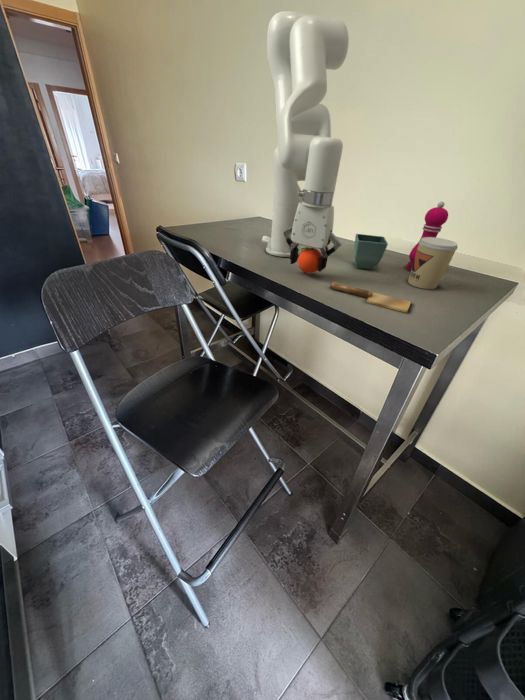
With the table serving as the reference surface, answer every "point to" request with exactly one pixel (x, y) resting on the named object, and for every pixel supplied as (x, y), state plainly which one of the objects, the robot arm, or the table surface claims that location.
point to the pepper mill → (430, 227)
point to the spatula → (374, 297)
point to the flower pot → (369, 250)
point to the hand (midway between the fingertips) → (307, 266)
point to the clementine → (309, 260)
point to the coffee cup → (431, 262)
